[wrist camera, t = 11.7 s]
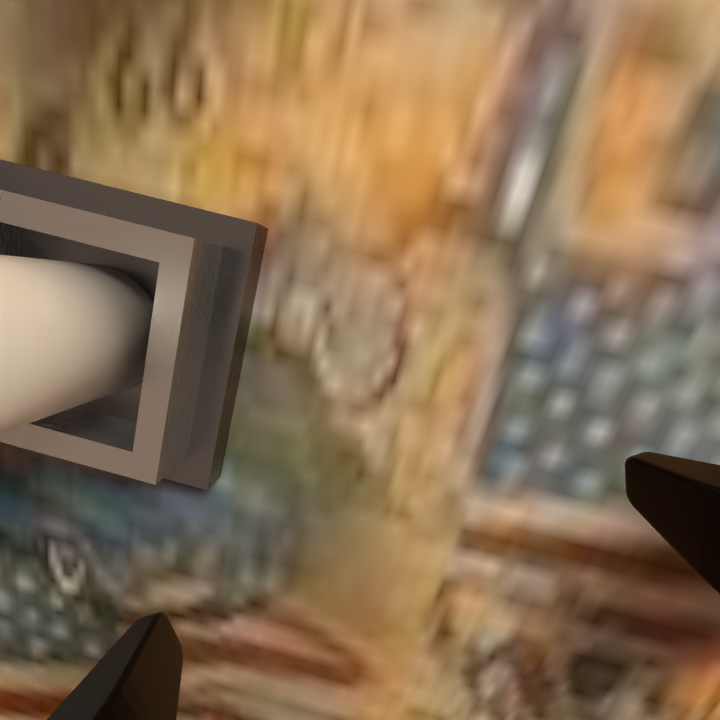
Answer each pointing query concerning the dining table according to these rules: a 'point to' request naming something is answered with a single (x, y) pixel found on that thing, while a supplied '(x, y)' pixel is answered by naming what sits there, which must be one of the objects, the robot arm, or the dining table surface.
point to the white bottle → (67, 336)
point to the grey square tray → (168, 324)
